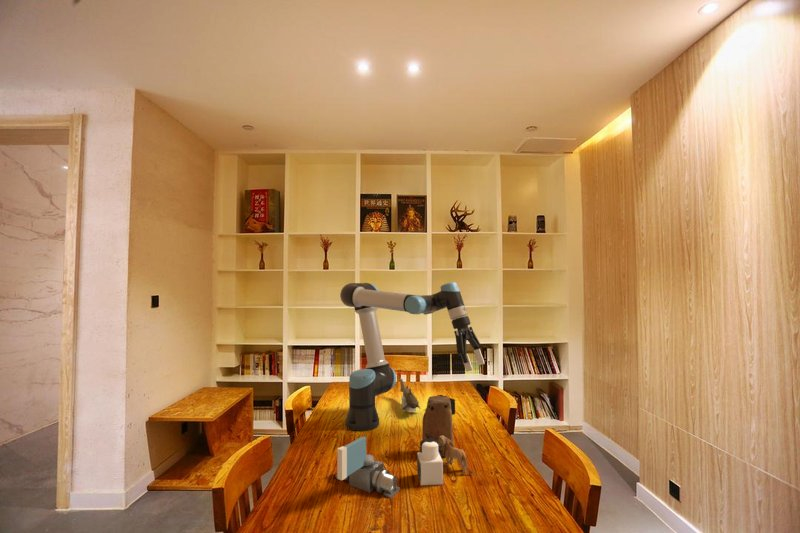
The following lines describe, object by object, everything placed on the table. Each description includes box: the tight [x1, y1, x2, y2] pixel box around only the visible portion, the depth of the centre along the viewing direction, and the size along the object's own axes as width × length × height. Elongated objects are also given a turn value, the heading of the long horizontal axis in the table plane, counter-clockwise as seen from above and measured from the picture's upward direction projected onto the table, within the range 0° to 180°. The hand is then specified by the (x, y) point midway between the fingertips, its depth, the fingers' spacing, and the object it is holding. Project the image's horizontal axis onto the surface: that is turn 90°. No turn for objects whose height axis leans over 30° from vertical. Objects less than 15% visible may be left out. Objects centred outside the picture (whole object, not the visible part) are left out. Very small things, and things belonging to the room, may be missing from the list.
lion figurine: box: [438, 435, 474, 476], centre depth 124 cm, size 15×5×9 cm, turn 43°
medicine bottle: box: [416, 438, 444, 487], centre depth 117 cm, size 7×7×12 cm
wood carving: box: [399, 377, 421, 412], centre depth 187 cm, size 9×35×11 cm, turn 11°
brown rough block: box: [421, 395, 454, 458], centre depth 135 cm, size 11×8×20 cm
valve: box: [334, 458, 401, 499], centre depth 114 cm, size 22×7×7 cm, turn 57°
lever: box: [336, 436, 374, 481], centre depth 111 cm, size 14×4×8 cm, turn 147°
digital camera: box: [437, 394, 456, 416], centre depth 181 cm, size 10×5×7 cm, turn 34°
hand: (475, 367), depth 151 cm, fingers open, 13 cm apart
